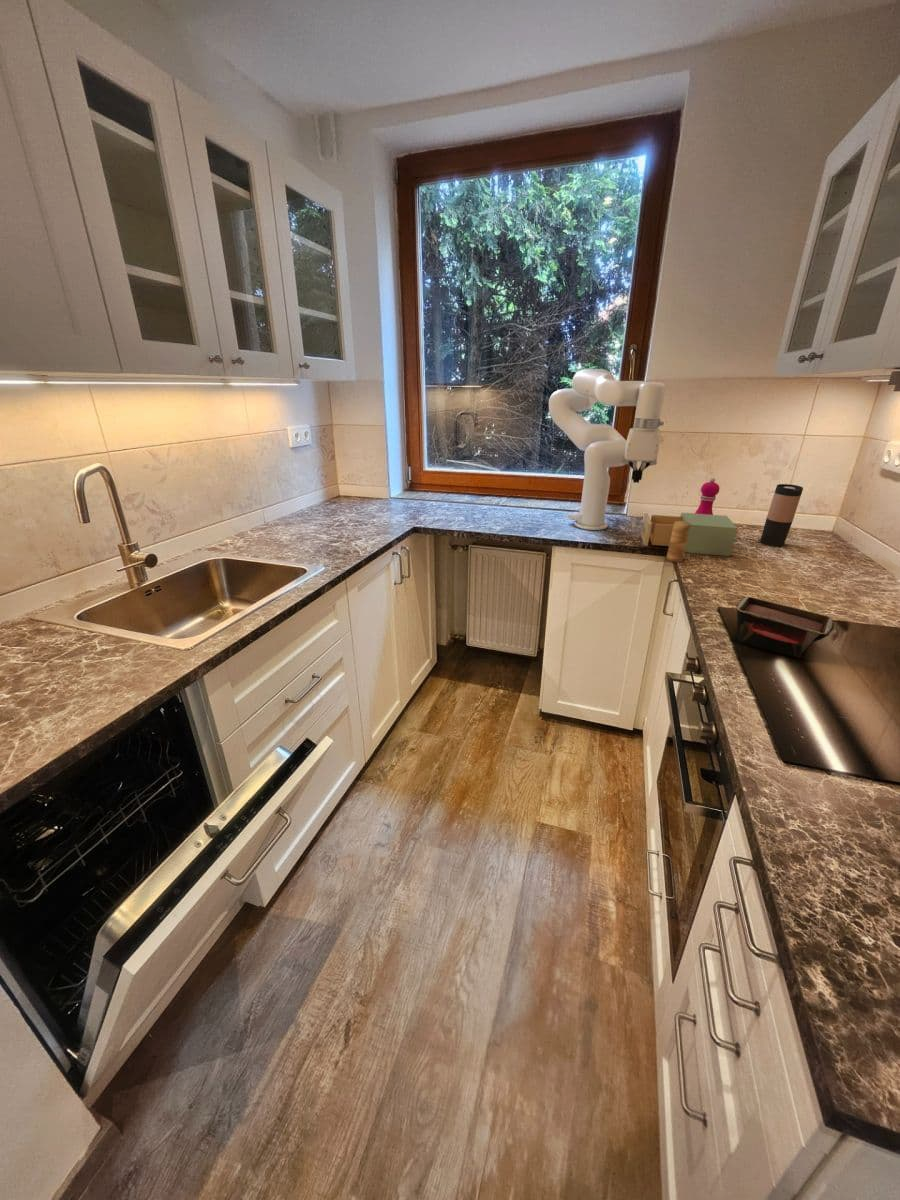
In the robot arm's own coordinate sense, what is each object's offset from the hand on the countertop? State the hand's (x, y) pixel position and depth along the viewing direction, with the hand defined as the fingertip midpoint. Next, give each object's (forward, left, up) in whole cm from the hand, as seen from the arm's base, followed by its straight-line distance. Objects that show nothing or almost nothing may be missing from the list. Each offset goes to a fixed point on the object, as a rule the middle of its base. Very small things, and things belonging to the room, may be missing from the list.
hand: (635, 481), depth 159 cm
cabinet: (+25, 0, -21) cm, 33 cm away
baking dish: (+28, -64, -21) cm, 73 cm away
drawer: (+10, 0, -20) cm, 22 cm away
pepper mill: (+28, +19, -21) cm, 40 cm away
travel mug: (+50, +11, -21) cm, 55 cm away
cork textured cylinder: (+14, -15, -21) cm, 29 cm away
